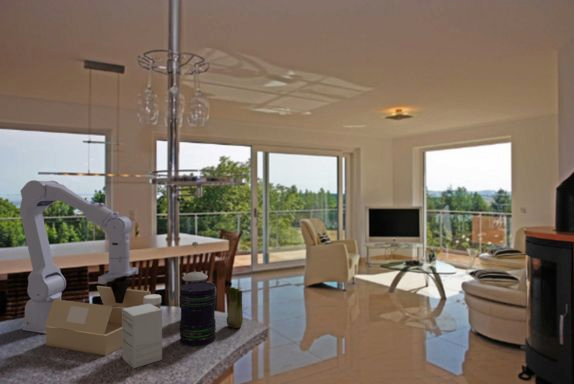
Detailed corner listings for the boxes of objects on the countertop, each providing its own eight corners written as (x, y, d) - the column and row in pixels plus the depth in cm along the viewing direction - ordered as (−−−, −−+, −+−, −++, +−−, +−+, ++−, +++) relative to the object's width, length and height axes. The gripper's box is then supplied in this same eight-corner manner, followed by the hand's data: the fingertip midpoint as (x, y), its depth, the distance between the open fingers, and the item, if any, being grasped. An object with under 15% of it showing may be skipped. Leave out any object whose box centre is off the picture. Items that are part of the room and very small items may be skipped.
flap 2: (96, 286, 126) (97, 285, 127) (103, 304, 129) (104, 303, 130) (149, 292, 120) (150, 291, 121) (155, 311, 123) (156, 310, 123)
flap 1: (46, 326, 110) (44, 325, 109) (55, 299, 112) (53, 298, 112) (104, 334, 103) (102, 334, 103) (112, 306, 106) (111, 306, 106)
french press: (181, 315, 136) (181, 239, 136) (217, 314, 137) (217, 239, 137) (176, 325, 126) (176, 244, 126) (215, 324, 127) (215, 243, 127)
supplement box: (150, 351, 107) (150, 302, 106) (162, 360, 101) (162, 309, 101) (121, 359, 102) (121, 308, 102) (132, 369, 96) (132, 315, 96)
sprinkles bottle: (163, 347, 109) (163, 296, 109) (145, 350, 107) (145, 299, 107) (158, 341, 113) (158, 292, 113) (141, 345, 111) (141, 295, 110)
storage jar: (198, 331, 122) (199, 280, 121) (223, 338, 116) (223, 285, 116) (171, 341, 113) (171, 287, 113) (196, 349, 108) (196, 292, 108)
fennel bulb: (244, 329, 123) (244, 289, 123) (228, 331, 122) (228, 290, 122) (241, 323, 129) (241, 284, 129) (225, 324, 127) (225, 285, 127)
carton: (46, 345, 110) (46, 326, 110) (102, 321, 129) (102, 306, 129) (106, 355, 104) (106, 335, 104) (155, 329, 123) (155, 312, 123)
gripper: (112, 262, 114) (112, 311, 114) (146, 254, 127) (146, 297, 128) (92, 260, 116) (92, 308, 116) (127, 252, 130) (127, 295, 130)
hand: (119, 302), depth 122 cm, fingers closed, pressing on flap 2
